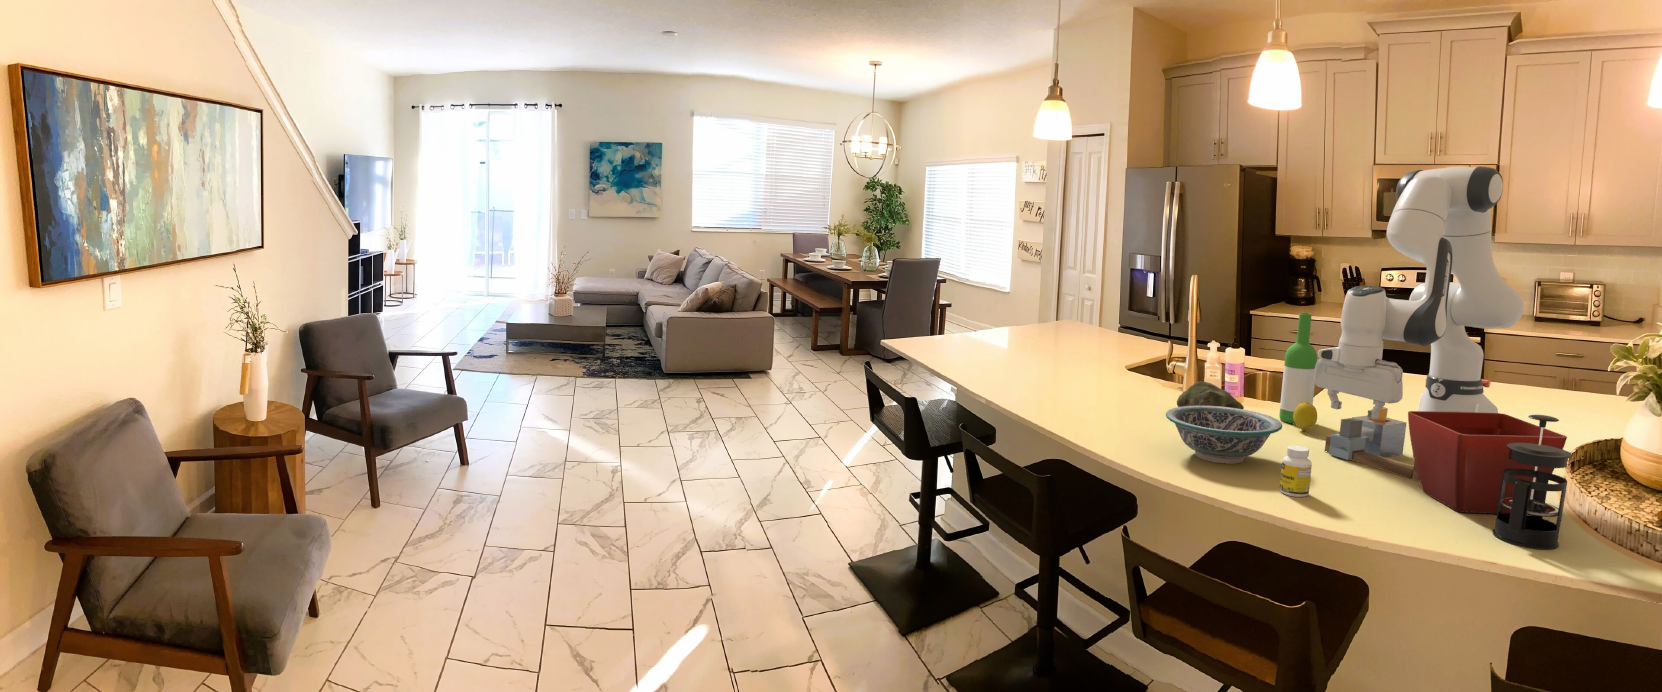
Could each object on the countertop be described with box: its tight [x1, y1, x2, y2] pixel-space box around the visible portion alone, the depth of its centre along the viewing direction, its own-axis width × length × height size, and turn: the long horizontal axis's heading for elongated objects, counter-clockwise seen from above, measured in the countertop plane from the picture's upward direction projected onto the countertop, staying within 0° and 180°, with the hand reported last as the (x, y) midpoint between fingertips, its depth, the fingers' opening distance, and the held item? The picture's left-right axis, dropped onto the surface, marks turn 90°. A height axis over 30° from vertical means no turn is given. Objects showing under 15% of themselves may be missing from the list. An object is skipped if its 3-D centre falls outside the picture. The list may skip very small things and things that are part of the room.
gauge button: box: [1372, 406, 1389, 422], centre depth 206 cm, size 3×3×5 cm
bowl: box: [1165, 406, 1283, 465], centre depth 202 cm, size 25×25×10 cm
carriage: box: [1328, 417, 1369, 461], centre depth 203 cm, size 6×5×9 cm
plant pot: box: [1407, 410, 1568, 515], centre depth 172 cm, size 19×19×17 cm
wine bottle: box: [1279, 312, 1318, 425], centre depth 233 cm, size 8×8×30 cm
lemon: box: [1293, 402, 1318, 432], centre depth 226 cm, size 6×6×8 cm
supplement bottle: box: [1279, 445, 1313, 498], centre depth 178 cm, size 5×5×10 cm
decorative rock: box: [1176, 381, 1245, 410], centre depth 241 cm, size 15×16×10 cm
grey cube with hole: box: [1351, 415, 1407, 458], centre depth 207 cm, size 8×8×8 cm
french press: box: [1492, 414, 1573, 551], centre depth 153 cm, size 12×9×23 cm
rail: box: [1324, 434, 1420, 481], centre depth 198 cm, size 3×23×4 cm, turn 21°
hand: (1354, 413), depth 202 cm, fingers open, 8 cm apart
